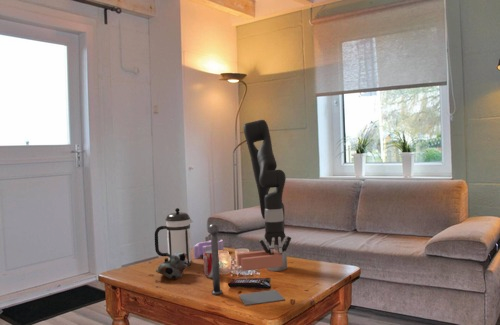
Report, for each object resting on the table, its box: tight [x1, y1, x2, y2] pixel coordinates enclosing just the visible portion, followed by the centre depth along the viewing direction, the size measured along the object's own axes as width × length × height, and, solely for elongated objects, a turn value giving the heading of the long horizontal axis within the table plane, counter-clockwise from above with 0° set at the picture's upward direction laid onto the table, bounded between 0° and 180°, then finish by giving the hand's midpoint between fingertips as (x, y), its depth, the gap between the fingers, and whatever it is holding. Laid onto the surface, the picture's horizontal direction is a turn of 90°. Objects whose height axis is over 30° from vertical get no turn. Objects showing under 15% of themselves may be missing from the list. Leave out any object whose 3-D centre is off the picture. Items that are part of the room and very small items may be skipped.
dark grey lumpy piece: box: [155, 253, 188, 281], centre depth 209 cm, size 15×12×14 cm
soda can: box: [203, 250, 213, 279], centre depth 206 cm, size 7×7×12 cm
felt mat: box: [238, 289, 286, 307], centre depth 174 cm, size 16×12×1 cm
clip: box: [192, 239, 224, 260], centre depth 249 cm, size 20×12×7 cm, turn 149°
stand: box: [208, 223, 223, 296], centre depth 181 cm, size 4×4×29 cm
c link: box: [236, 249, 283, 272], centre depth 174 cm, size 16×10×4 cm, turn 104°
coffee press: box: [154, 207, 194, 267], centre depth 230 cm, size 17×16×30 cm
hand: (276, 262), depth 175 cm, fingers closed on c link, 2 cm apart
